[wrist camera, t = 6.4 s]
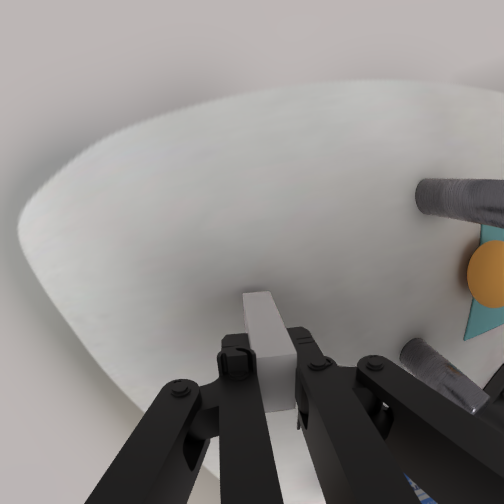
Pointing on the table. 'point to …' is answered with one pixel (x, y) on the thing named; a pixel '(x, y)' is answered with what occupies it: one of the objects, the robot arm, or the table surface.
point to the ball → (487, 274)
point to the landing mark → (479, 314)
